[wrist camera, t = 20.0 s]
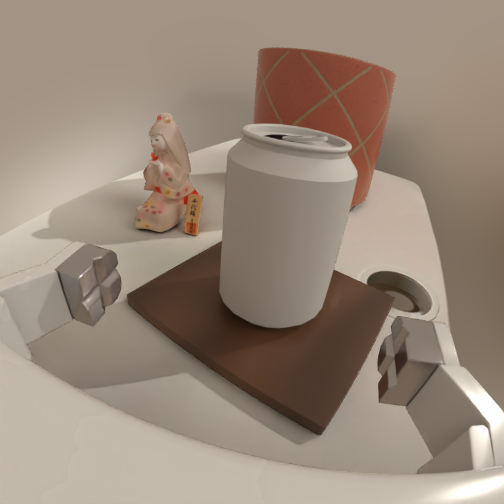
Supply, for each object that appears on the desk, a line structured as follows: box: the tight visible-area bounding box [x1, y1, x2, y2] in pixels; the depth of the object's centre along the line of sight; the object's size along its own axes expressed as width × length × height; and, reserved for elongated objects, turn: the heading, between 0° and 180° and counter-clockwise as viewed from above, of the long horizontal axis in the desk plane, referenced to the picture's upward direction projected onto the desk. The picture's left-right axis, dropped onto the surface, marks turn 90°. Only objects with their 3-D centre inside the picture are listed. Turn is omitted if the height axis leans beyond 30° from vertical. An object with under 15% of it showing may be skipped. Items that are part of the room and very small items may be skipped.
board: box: [127, 241, 395, 435], centre depth 23 cm, size 16×14×1 cm
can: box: [219, 124, 358, 328], centre depth 19 cm, size 8×8×12 cm
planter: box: [253, 48, 396, 209], centre depth 41 cm, size 19×19×20 cm
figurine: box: [135, 113, 203, 236], centre depth 31 cm, size 9×7×12 cm
